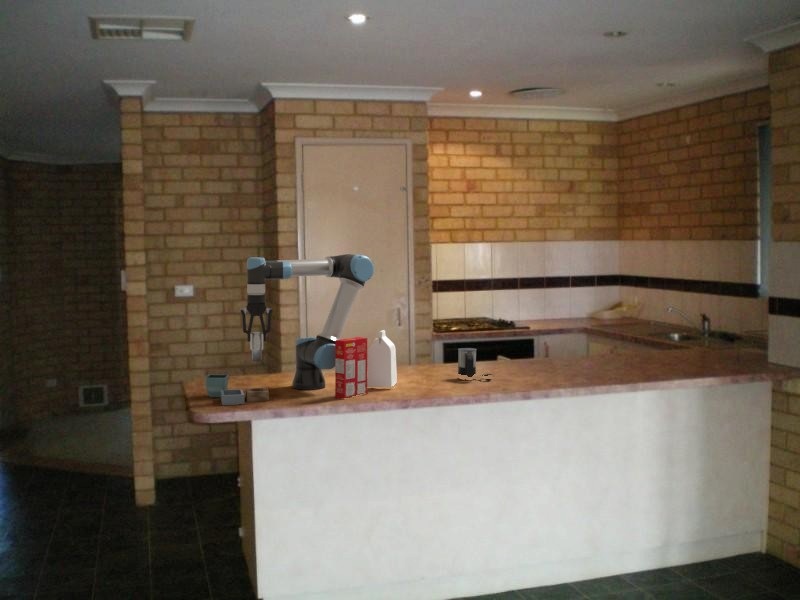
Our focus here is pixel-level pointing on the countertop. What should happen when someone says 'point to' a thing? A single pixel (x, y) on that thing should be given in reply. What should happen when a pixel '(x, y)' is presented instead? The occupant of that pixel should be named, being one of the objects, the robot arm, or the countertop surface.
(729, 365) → the countertop surface
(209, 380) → the flower pot
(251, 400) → the socket block
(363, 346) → the food packaging
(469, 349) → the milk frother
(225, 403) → the tray
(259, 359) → the steel pin
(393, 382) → the milk
